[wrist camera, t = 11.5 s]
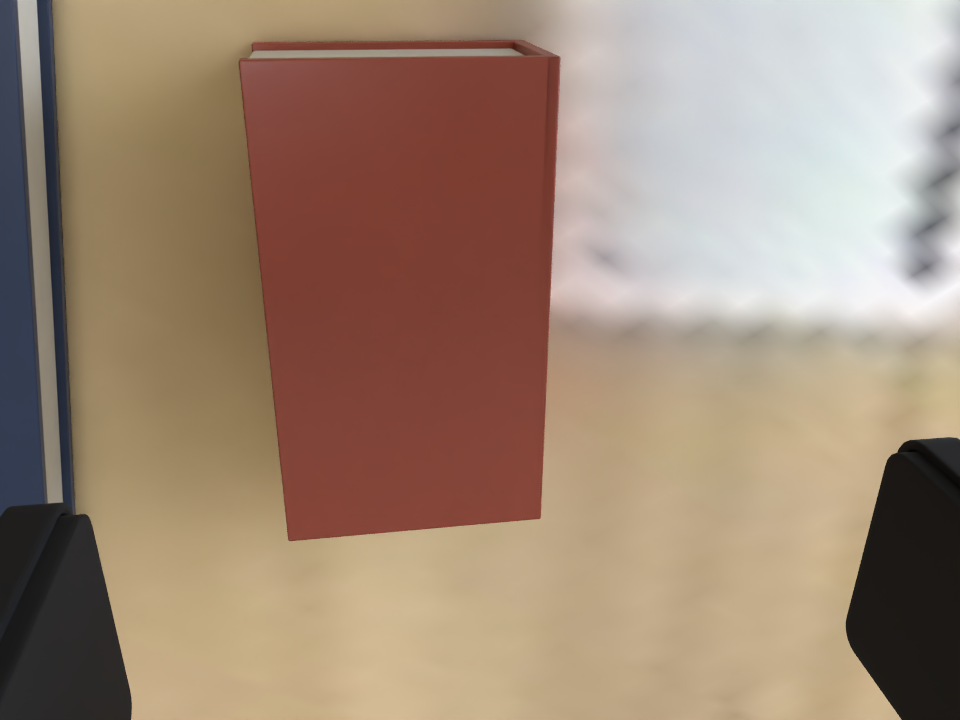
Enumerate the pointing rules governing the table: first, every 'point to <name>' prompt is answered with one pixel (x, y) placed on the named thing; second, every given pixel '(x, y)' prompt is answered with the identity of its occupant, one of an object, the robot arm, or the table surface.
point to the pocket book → (405, 276)
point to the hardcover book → (31, 268)
